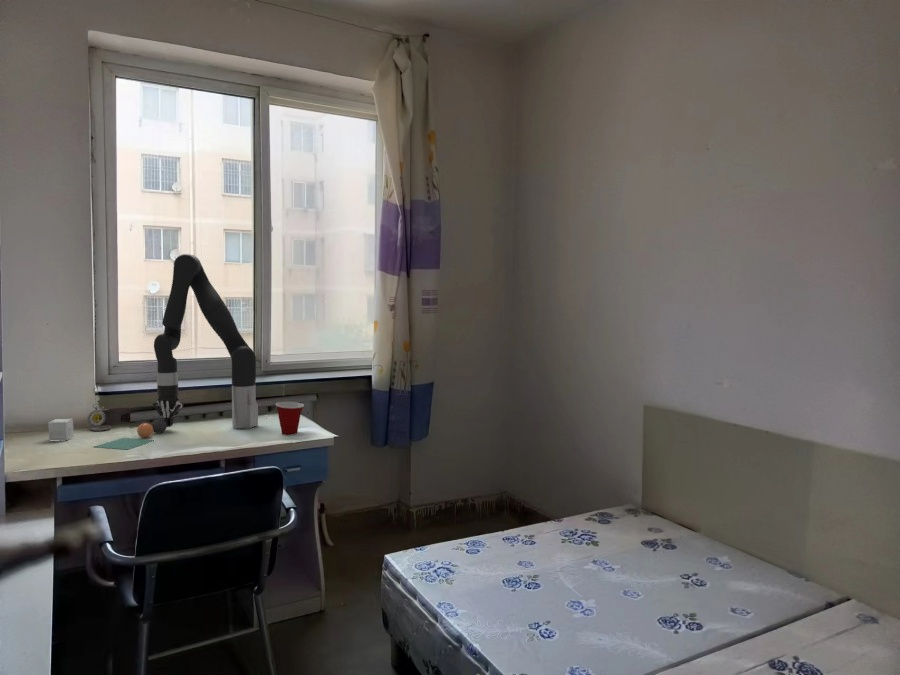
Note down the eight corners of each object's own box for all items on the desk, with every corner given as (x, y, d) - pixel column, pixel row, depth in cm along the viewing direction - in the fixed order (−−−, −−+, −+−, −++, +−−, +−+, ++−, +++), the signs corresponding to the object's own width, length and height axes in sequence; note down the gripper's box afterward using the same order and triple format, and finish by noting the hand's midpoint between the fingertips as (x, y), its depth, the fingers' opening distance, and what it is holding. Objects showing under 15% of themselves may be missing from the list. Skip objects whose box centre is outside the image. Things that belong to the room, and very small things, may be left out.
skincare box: (74, 437, 226) (73, 418, 226) (66, 441, 220) (65, 421, 220) (56, 438, 225) (55, 418, 225) (48, 442, 219) (47, 422, 219)
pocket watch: (104, 431, 236) (103, 406, 236) (83, 431, 236) (82, 406, 236) (116, 427, 244) (115, 403, 244) (96, 427, 245) (95, 402, 244)
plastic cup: (299, 437, 231) (299, 406, 230) (271, 436, 231) (271, 405, 231) (307, 430, 242) (307, 401, 241) (281, 430, 242) (281, 400, 241)
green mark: (155, 440, 223) (155, 440, 223) (127, 449, 209) (127, 449, 209) (123, 438, 226) (123, 437, 226) (93, 447, 213) (93, 446, 213)
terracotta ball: (158, 429, 230) (152, 420, 227) (150, 441, 227) (144, 431, 223) (146, 428, 232) (139, 419, 228) (138, 440, 228) (131, 430, 224)
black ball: (163, 418, 233) (158, 431, 230) (171, 422, 237) (166, 435, 235) (150, 416, 234) (145, 430, 232) (159, 421, 239) (154, 434, 236)
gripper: (188, 382, 241) (189, 425, 242) (160, 381, 244) (161, 423, 245) (175, 385, 234) (176, 429, 235) (146, 384, 237) (147, 427, 238)
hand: (168, 426), depth 240 cm, fingers closed
